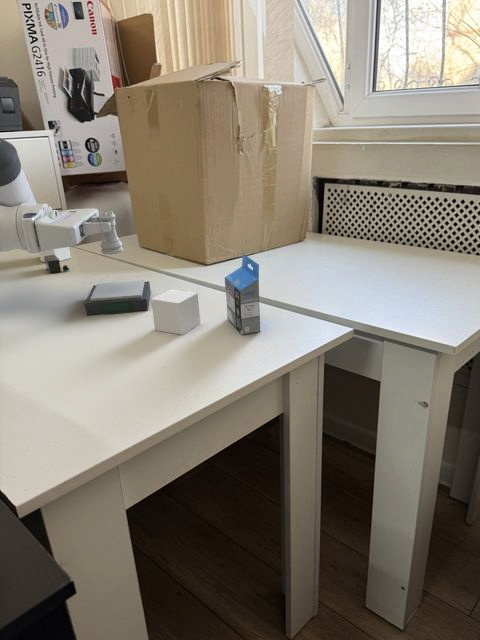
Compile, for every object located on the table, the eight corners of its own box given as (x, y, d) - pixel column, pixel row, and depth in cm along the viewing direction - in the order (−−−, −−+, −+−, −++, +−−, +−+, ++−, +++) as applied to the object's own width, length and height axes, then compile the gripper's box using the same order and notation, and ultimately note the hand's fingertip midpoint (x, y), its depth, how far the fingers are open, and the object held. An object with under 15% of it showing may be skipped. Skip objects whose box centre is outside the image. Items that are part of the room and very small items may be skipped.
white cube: (200, 323, 95) (197, 292, 92) (182, 335, 90) (178, 303, 88) (174, 318, 98) (170, 288, 95) (154, 330, 93) (150, 298, 90)
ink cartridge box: (226, 318, 97) (222, 255, 91) (245, 315, 98) (242, 252, 93) (241, 335, 89) (237, 267, 84) (261, 332, 90) (259, 264, 85)
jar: (33, 262, 140) (23, 218, 135) (49, 254, 147) (40, 212, 142) (63, 262, 138) (54, 217, 133) (77, 254, 146) (69, 212, 140)
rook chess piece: (128, 250, 103) (122, 210, 100) (115, 255, 100) (109, 214, 96) (109, 248, 105) (103, 209, 101) (96, 254, 101) (89, 213, 98)
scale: (86, 316, 100) (83, 301, 99) (95, 296, 111) (92, 282, 110) (147, 311, 102) (145, 296, 100) (150, 292, 113) (149, 278, 112)
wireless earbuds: (51, 274, 128) (48, 262, 126) (46, 268, 133) (43, 256, 132) (70, 271, 130) (67, 259, 129) (64, 265, 136) (62, 253, 134)
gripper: (60, 232, 110) (124, 229, 111) (26, 256, 92) (104, 252, 92) (54, 202, 107) (120, 199, 108) (18, 220, 89) (98, 217, 89)
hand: (112, 224), depth 100 cm, fingers closed on rook chess piece, 3 cm apart
